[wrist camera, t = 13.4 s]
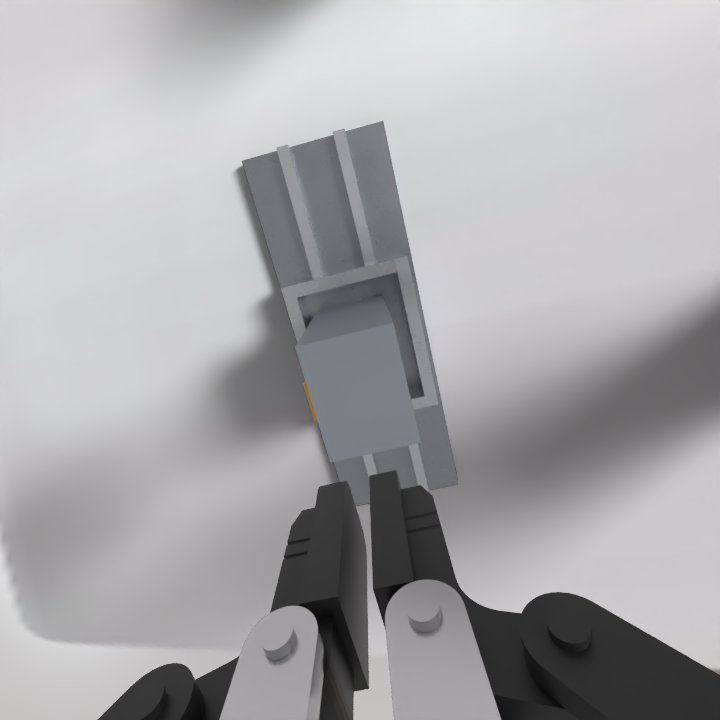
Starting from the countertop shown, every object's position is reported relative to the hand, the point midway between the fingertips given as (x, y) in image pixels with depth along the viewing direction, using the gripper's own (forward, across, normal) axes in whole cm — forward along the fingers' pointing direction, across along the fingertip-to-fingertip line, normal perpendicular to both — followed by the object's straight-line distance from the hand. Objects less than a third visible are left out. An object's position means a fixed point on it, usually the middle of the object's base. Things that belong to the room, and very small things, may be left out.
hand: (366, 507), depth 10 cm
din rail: (+19, 0, 0) cm, 19 cm away
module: (+18, 0, 0) cm, 18 cm away
